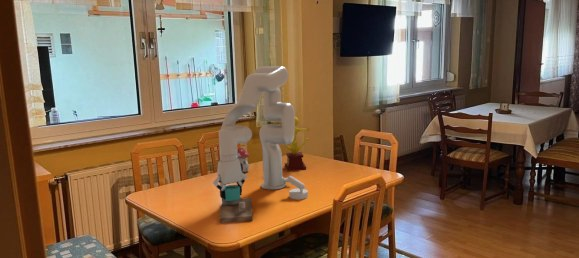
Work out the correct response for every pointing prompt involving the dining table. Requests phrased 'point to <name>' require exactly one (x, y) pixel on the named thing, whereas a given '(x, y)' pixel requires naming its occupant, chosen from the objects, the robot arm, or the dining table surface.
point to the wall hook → (297, 193)
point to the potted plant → (295, 152)
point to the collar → (232, 192)
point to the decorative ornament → (243, 160)
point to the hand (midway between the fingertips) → (231, 196)
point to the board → (236, 210)
